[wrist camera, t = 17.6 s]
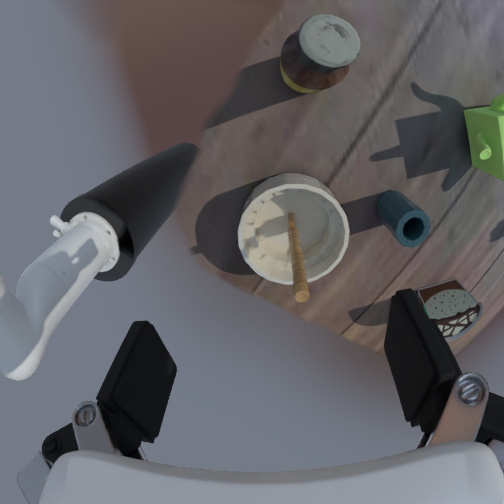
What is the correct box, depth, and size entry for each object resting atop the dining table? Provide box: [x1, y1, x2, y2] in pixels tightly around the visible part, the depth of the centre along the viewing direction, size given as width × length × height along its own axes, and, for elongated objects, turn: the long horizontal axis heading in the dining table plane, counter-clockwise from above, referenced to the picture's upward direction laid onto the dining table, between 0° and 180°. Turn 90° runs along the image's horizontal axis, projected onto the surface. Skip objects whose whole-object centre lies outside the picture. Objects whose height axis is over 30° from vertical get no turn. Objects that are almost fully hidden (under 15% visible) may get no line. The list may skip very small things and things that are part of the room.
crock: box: [376, 190, 430, 247], centre depth 34 cm, size 5×5×8 cm
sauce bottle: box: [280, 14, 360, 93], centre depth 21 cm, size 7×6×20 cm
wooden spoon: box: [288, 213, 310, 303], centre depth 32 cm, size 1×3×17 cm, turn 12°
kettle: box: [463, 94, 504, 181], centre depth 25 cm, size 15×14×11 cm
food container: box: [417, 278, 483, 342], centre depth 41 cm, size 12×6×10 cm, turn 105°
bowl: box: [238, 173, 350, 285], centre depth 38 cm, size 14×14×6 cm
